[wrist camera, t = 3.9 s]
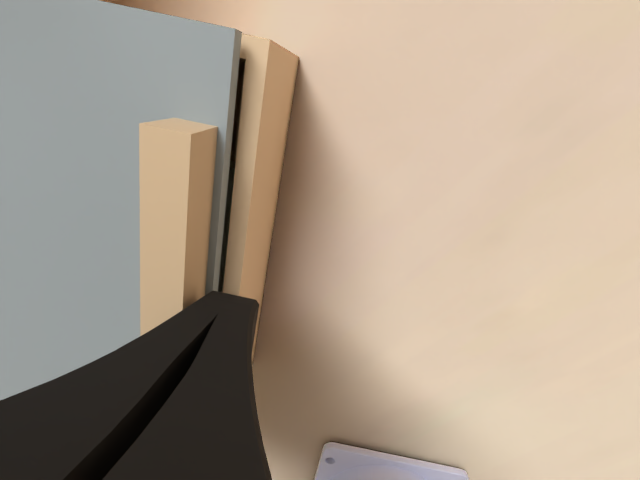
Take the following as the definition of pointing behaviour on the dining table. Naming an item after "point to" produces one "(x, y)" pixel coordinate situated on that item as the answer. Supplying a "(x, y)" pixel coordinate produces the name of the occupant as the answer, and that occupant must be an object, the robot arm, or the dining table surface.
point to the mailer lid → (106, 177)
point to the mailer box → (256, 165)
